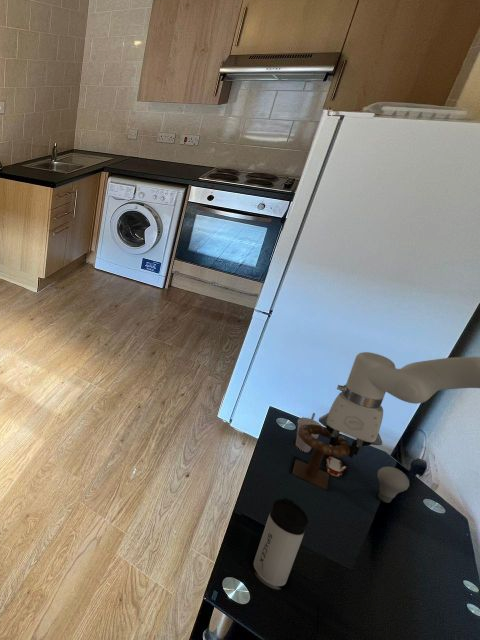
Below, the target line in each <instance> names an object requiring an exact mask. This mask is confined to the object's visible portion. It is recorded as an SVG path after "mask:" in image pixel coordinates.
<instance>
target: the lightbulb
mask: <svg viewBox="0 0 480 640" xmlns="http://www.w3.org/2000/svg"><path fill="white" fill-rule="evenodd" d="M377 480H378V482H379V492H378V495H377V497H378V499H380V500H381V502H383V503H386V504H390V503H391V502H392V501H393V499H395V497H396V496H397V495H398V494H399V493H402V492H405V491H407V490H408V489H409V488H410V480H409V477H408V476H407V474H405V472H403V471H402V470H400V469H398V468H396V467H394V466H383V467H380V468H379V469H378V470H377Z"/></svg>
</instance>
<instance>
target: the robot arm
mask: <svg viewBox="0 0 480 640" xmlns="http://www.w3.org/2000/svg"><path fill="white" fill-rule="evenodd" d="M458 389H480V356H454V357H444V358H436V359H429V360H428V359H427V360H422V361H421V360H420V361H415V362H411V363H408V364H405V365H404V366H402V367H401V368H397V367H396V365H395V363H394V361H392V360H391V359H390V358H388V357H387V356H384V355H382V354H378V353H374V352H370V351H362V352H359V353H357V355H356V356H355V358H354V361H353V363H352V366H351V369H350V372H349V375H348V378H347V381H346V383H345V384H344V385H340V384H337V388H336V390H338V391H340V392H339V393H338V394H337V396H336V397H335V399H334V401H333V403H332V405H331V406H330V408H329V411H328V412H327V413H325V414H323V415H321V416H320V417H319V418H318V423H319V424H321V425H322V426H323V427H326V428H327V430H328V431H329V432H330V434H331V438H330V439H329V441H328V445H333V446H337V442H338V438H339V435H338V434H340V432H341V433H343V434H344V435H345V434H346V435H348V436H351V437H353V438H356V439H354V440H352V443H351V444H350V446H351V451H350V454H349V455H348V457H349V458H351V459H353V457H354V455H355V456H357V455H358V454H359V451H360V448H363V447H367V446H383V440H382V438H381V435H380V429H381V427H382V422H383V418H384V408H383V406H382V403H383V401H384V399H385V395H386V393H387V394H389V395H391V396H393V397H394V398H396V399H398V400H400V401H403V402H405V403H409V404H416V405H417V404H423V403H425V402H427V401H428V400H429V399H431V397H433V395H435V394H436V393H437V392H438V391H447V390H458Z"/></svg>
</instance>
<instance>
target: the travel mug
mask: <svg viewBox="0 0 480 640" xmlns="http://www.w3.org/2000/svg"><path fill="white" fill-rule="evenodd" d="M308 524H309V518H308V515H307V514H306V512H305V511H304V510H303V509H302V508H301V506H299V505H297V504H296V503H295V502H294V500H292V499H289V498H287V497H283V498H278V499H276V500H274V501H273V502H272V505H271V510H270V511H269V514H268V517H267V520H266V524H265V526H264V530H263V532H262V535H261V537H260V538H261V539H260V541H259V545H258V548H257V551H256V552H255V553H256V554H255V557H254V560H253V569H254V570H255V571H253V573H254V575H255V577H256V578H257V580H259V581H260V582H261V583H262V584H263V585H265V586H266V587H268V588H270V589H273V590H279V591H280V590H282V588H281V587H283V586H285V585H286V584H287V582H288V579H289V576H290V573H291V571H292V567H293V565H294V562H295V559H296V557H297V554H298V552H299V549H300V546H301V544H302V540H303V538H304V535H305V533H306V528H307V526H308Z"/></svg>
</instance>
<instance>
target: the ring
mask: <svg viewBox="0 0 480 640" xmlns="http://www.w3.org/2000/svg"><path fill="white" fill-rule="evenodd" d="M321 425H322V424H321ZM321 425H315V424H305V425H301V426H300V427H299V431H298V434H299V436H300V438H301V439H302V440H303V442H304V443H306V444H307V445H309V446H310V447H311V449H314V450H316V451H319V452H321V453H324V455H326V456H328V457H334V458H343V457H347V456H349V454H350V451H351V444H350V443H349V442H348V440H347V439H346V438H345V437H344V436H343V435H341V434H340V433H339V434H338V435H339V438H338V442H337V445H336V446H333V445H330V444H329V443H328V444H327V443H325V442H324V441H323V442H322V441H320V440H318V438H317V439H315V438H314V437H313V436H312V435H311V434H317V435H319V436H320V437H323V438H326V439H328V440H330V438H331V434H330V432H329V431H328V430H327V428H326V427H325V426H324V425H322V426H321Z"/></svg>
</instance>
